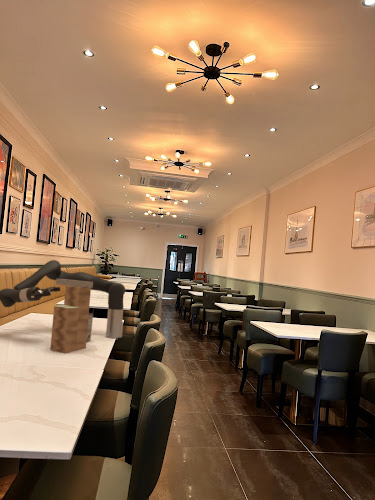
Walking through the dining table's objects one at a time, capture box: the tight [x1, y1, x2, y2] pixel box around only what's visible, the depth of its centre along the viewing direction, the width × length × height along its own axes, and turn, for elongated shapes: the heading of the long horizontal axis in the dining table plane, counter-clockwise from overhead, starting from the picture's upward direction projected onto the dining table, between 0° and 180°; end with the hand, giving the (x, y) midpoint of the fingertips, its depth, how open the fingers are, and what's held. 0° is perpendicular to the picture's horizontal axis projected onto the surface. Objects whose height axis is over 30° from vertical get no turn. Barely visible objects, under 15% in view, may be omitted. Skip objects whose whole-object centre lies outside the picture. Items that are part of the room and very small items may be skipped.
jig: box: [49, 285, 92, 354], centre depth 184 cm, size 10×15×32 cm, turn 157°
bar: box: [55, 279, 93, 288], centre depth 190 cm, size 22×3×3 cm, turn 67°
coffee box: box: [86, 312, 94, 343], centre depth 205 cm, size 9×6×16 cm
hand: (55, 291), depth 193 cm, fingers open, 8 cm apart
